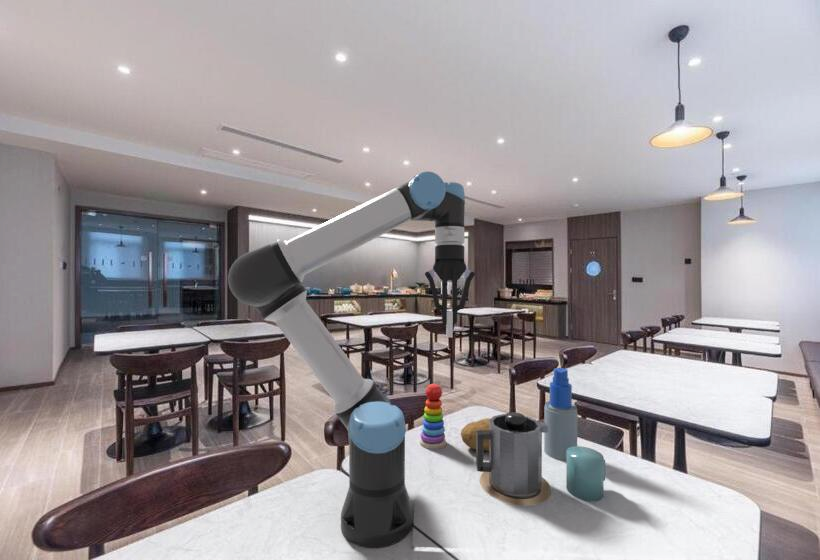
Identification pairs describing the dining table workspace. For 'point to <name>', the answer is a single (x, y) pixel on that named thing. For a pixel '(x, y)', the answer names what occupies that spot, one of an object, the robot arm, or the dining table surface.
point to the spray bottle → (560, 417)
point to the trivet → (536, 500)
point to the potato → (470, 433)
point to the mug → (585, 473)
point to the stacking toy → (433, 420)
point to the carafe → (512, 457)
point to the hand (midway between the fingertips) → (449, 336)
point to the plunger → (515, 421)
